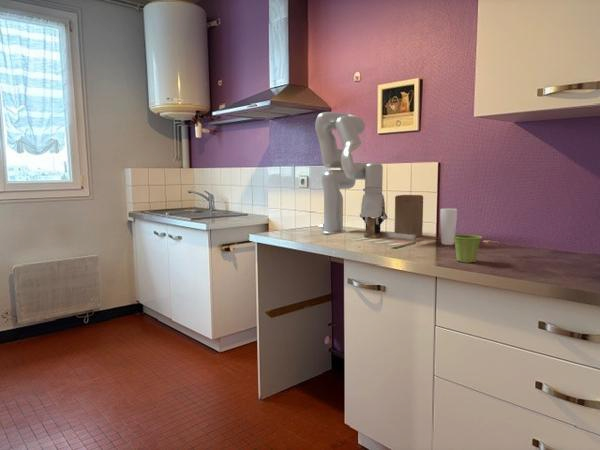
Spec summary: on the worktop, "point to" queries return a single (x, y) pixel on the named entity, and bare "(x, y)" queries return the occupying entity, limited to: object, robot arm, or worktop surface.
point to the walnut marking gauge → (371, 229)
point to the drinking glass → (448, 225)
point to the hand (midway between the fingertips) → (372, 232)
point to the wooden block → (409, 214)
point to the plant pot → (466, 247)
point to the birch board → (391, 239)
